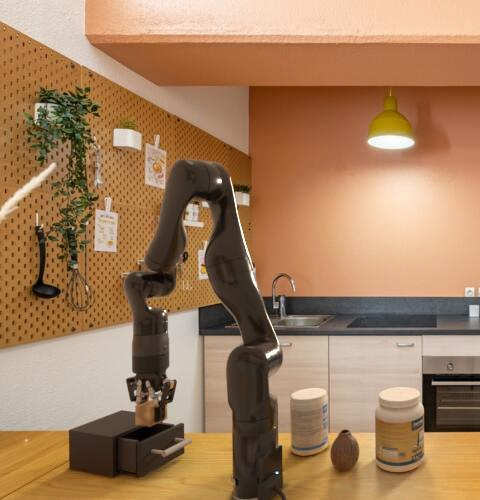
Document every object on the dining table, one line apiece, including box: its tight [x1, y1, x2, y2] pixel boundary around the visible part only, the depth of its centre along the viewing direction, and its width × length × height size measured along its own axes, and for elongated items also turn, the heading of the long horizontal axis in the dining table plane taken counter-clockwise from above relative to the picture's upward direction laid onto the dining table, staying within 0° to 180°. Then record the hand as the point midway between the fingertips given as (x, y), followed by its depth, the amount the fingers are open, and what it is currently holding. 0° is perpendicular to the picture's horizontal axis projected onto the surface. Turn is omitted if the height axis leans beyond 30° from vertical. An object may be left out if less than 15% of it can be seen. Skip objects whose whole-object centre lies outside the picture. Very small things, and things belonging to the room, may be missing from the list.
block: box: [134, 399, 168, 427], centre depth 100 cm, size 5×5×5 cm
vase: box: [329, 428, 360, 472], centre depth 99 cm, size 7×7×9 cm
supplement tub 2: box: [374, 386, 425, 473], centre depth 101 cm, size 12×12×17 cm
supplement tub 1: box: [289, 387, 329, 457], centre depth 108 cm, size 10×10×15 cm
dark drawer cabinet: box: [68, 409, 164, 478], centre depth 103 cm, size 15×13×10 cm
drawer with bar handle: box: [116, 422, 193, 478], centre depth 100 cm, size 18×11×8 cm, turn 74°
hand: (151, 419), depth 100 cm, fingers closed on block, 4 cm apart
